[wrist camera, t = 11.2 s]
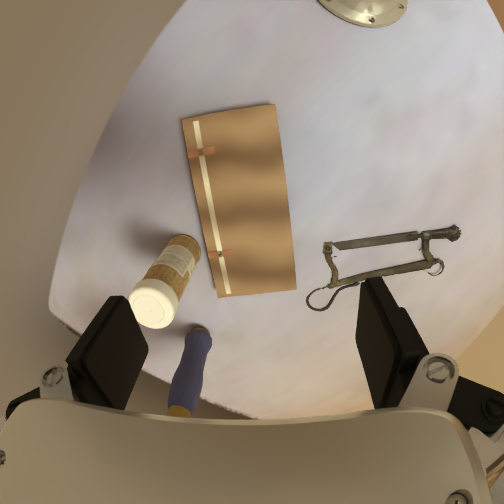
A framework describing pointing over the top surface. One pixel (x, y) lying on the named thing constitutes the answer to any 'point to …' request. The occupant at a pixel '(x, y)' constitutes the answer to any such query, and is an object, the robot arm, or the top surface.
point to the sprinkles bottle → (165, 283)
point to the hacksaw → (351, 244)
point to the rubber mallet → (189, 374)
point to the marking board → (242, 199)
